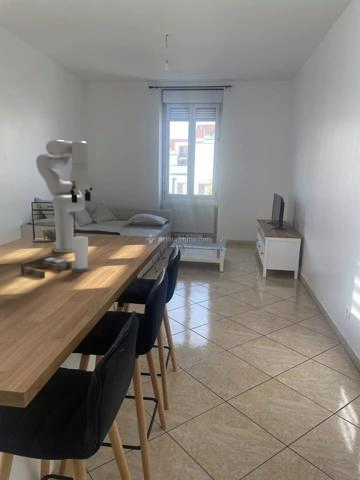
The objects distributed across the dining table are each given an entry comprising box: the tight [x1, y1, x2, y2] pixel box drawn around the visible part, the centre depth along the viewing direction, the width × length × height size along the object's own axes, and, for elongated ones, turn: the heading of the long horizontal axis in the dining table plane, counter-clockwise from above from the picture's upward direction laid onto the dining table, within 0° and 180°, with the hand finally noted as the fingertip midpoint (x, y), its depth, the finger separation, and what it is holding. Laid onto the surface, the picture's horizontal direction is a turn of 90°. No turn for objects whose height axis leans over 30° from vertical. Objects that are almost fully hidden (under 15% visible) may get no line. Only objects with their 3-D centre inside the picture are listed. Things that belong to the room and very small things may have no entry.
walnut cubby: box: [20, 254, 73, 279], centre depth 164 cm, size 13×18×5 cm
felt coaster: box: [70, 265, 92, 273], centre depth 168 cm, size 9×9×1 cm
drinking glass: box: [73, 235, 89, 270], centre depth 167 cm, size 7×7×15 cm
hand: (81, 201), depth 178 cm, fingers open, 9 cm apart
